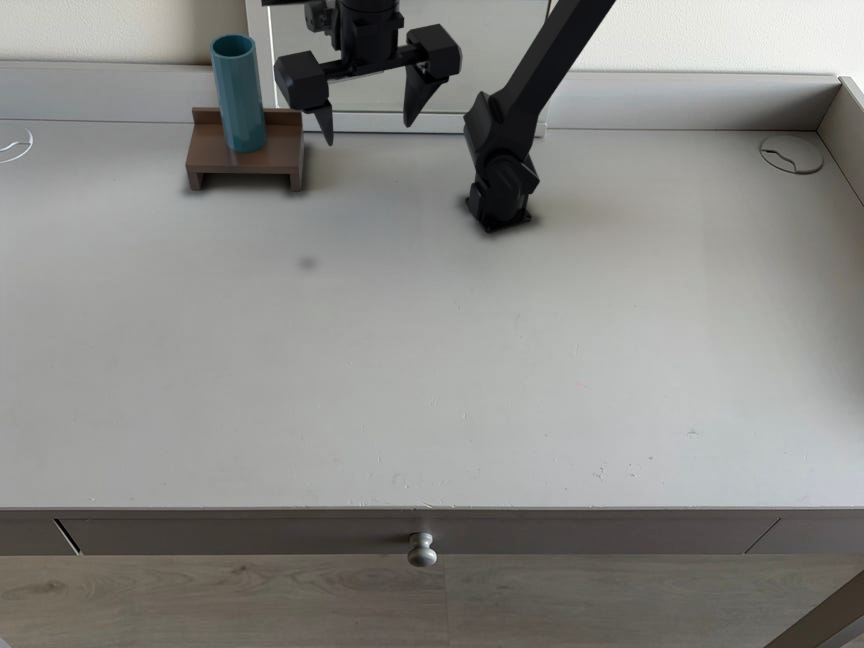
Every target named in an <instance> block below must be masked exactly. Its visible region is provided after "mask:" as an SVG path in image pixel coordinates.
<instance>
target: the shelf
mask: <svg viewBox="0 0 864 648" xmlns="http://www.w3.org/2000/svg"><path fill="white" fill-rule="evenodd" d="M263 111H264V119H265V127H266V136H267V140H266V143H265V145H264V146H263V147H262V148H260V149H258V150H256V151H253V152H248V153H241V152H236V151H234V150H232V149H230V148H229V147H228V146H227V144H226V141H225V136H224V131H223V125H222V119H221V113H220V107H219V106H218V107H217V106H216V107H211V106H210V107H209V106H208V107H207V106H192V108H191V115H192V120H193V124H194V125H193V128H192V131H191V132H192V133H191V137H190V141H189V146H188V151H187V155H186V160H185V163H184V166H185V169H186V171H185V172H186V175H187V179H188V180H187V181H188V184H189V188H190V190H191V191H200V190H201V187H202V183H203V177H204V173H205V174H277V175H278V174H285V175H286V174H287V175H289V178H290V179H289V180H290V190H291V192H301V191H302V183H303V182H302V180H303V169H304V157H305V134H304V119H303V112H302V110H298V111H297V110H294V109H290V107H289V108H288V107H287V108H284V107H283V108H281V107H280V108H279V107H263Z"/></svg>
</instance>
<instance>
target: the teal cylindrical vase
mask: <svg viewBox="0 0 864 648" xmlns="http://www.w3.org/2000/svg"><path fill="white" fill-rule="evenodd" d="M208 47H209V55H210V60H211V67H212V71H213V77H214V84H215V89H216V96H217V102H218V107H220V113H221V119H222V125H223V131H224V136H225V141H226V144H227V146H228V147H229V148H230V149H232V150H234V151H236V152H241V153H248V152H253V151H256V150H258V149H260V148H262V147H263V146H264V145H265V143H266V140H267V136H266V127H265V119H264V111H263V108H264V102H263V95H262V86H261V79H260V70H259V62H258V54H257V52H258V51H257V44H256V41H255V40H254V39H253V38H252V37H251V36H249V35H247V34H244V33H238V32H232V33H224V34H221V35H218V36H216V37H215V38H213V39H212V40H211V42H210V43H209V46H208Z"/></svg>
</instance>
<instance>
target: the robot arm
mask: <svg viewBox="0 0 864 648" xmlns="http://www.w3.org/2000/svg"><path fill="white" fill-rule="evenodd" d="M616 2H617V0H558V1H557V2H556V3H555V5H554V7H553V8H552V9H551V12H550V13H549V15H548V16H547V18H546V20H545V21H544V23H543V24H542V26H541V27H540V30H539V31H538V32H537V34H536V35H535V37H534V39H533V40H532V42H531V44H530V45H529V47H528V48H527V50H526V52H525V53H524V55H523V56H522V58H521V60H520V62H519V63H518V65H517V66H516V68H515V70H514V71H513V73H512V74H511V76H510V77H509V79H508V80H507V82H506V84H505V85H504V87H502V88H501V89H499V90H497V91H495V92H493V93H491V94H488V93H487V92H485V91H483V90H480V91H479V92H478V93H477V95H476V97H475V99H474V102H473V105H472V106H471V107H470V109H469V110H468V111H467V112H466V113H464V114H463V116H462V119H463V122H464V125H463V129H462V130H463V131H462V133H463V136H464V139H465V143H466V146H467V149H468V152H469V155H470V158H471V161H472V164H473V167H474V169H475V173H474V174H475V175H474V181H473V182H471V185H470V188H469V196H467V197H465V198H464V205H466V206H467V210H468V211H469V212H470V214H471V216H472V217H473V219H474V220H475V221H476V222H477V223H478V224H479V226H480V227H481V228H482V230H483V231H484V232H485V233H486V234H492V233H495V232H499V231H503V230H506V229H509V228H513V227H517V226H521V225H523V224H527V223H530V222H532V220H533V216H532V214H531V213H530V212H529V210H528V209H527V207H528V202H529V197H530V195H533V194H534V192H535V191H536V189H537V188H538V186H539V185H540V183H541V180H540V179H541V178H540V176H539V175H538V172H537V169H536V167H535V165H534V162H533V160H532V157H531V154H530V151H531V149H532V147H533V145H534V140H535V136H536V132H537V126H538V121H539V118H540V115H541V113H542V111H543V110H544V108H545V106H546V105H547V103H548V102H549V101H550V100H551V98H552V96H553V95H554V93H555V92H556V91H557V89H558V87H559V86H560V85H561V83H562V82H563V80H564V79H565V77H566V76H567V74H568V73H569V71H570V70H571V68H572V67H573V65H574V64H575V62H577V59H578V57H579V56H580V55H581V54H582V52H583V51H584V49H585V48H586V46H587V45H588V44H589V42H590V40H591V38H593V36H594V34H595V33H596V31H597V30H598V28H599V27H600V26H601V24H602V23H603V21H604V19H605V18H606V17H607V15H608V14H609V12H610V11H611V9H613V8H612V7H613V6H614V5H615V3H616ZM260 3H261V7H262V8H264V7H265V8H266V7H282V6H298V5H299V6H300V5H303V10H304V11H303V12H304V13H303V14H304V20H305V26H306V28H307V30H308V31H309V32H311V33H314V34H316V33H321V32H323V34H324V36H326V37H328V36H329V37H330V46H331V47H332V49H333V50H334V51H335V52H339V51H340V59H335V60H330V61H325V62H321V63H319V61H318V59H317V58H316V56H315V55H314V53H313V52H312V49H311V50H310V49H309V50H305V51H299V52H295V53H290V54H285V55H280V56H278V57H277V58H276V60H275V62H274V64H273V66H272V67H273V78H274V79H273V80H274V82H275V84H276V86H277V87H278V89H279V91H280V93H281V95H282V97H283V98H284V100H285V101H286V103H287V105H288V107H289V108H290V109H294V110H297V111H298V110H302V114H305V115H314V117H315V120H316V121H317V123H318V125H319V128H320V131H321V133H322V135H323V138H324V140H325V142H326V144H327V146H328V147H333V145H334V139H335V134H334V133H335V132H334V115H333V104H332V103H331V101H330V100H329V97H330V85H334V84H339V83H343V82H348V81H352V80H356V79H362V78H366V77H371V76H375V75H378V74H384V73H385V71H389V70H394V69H398V68H403V67H404V69H405V86H404V96H403V104H402V105H403V107H402V120H403V122H402V123H403V125H404V127H405V128H406V129H408V128H411V127H412V125H413V124H414V122H415V121H416V119H417V118H418V116H419V115H420V113H421V112H422V110H423V109H424V108H425V106H426V105H427V103H428V102H429V101H430V100H431V98H432V97H433V96H434V95H435V93H436V92H438V90H439V88H440V87H441V86H442V85H444V84H448V83H449V81H450V77H452V76H457V75H459V74H460V73H461V72H462V67H463V60H464V59H463V58H464V55H463V50H462V47H461V46H460V45H459V44H458V43H457V41H456V40H455V39H454V38H453V36H452V35H451V34H450V32H448V30H447V29H446V28H445V27H444V26H443V25H442V24H441V23H434V24H430V25H425V26H420V27H416V28H411V29H409V30H408V31H407V32H406V35H405V43H404V44H401V45H399V30H401V29H404V28H405V16H403V14H402V13H401V11H400V5H401V2H400V0H260Z"/></svg>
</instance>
